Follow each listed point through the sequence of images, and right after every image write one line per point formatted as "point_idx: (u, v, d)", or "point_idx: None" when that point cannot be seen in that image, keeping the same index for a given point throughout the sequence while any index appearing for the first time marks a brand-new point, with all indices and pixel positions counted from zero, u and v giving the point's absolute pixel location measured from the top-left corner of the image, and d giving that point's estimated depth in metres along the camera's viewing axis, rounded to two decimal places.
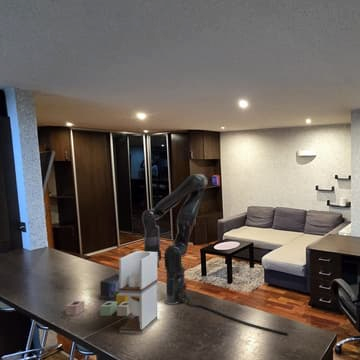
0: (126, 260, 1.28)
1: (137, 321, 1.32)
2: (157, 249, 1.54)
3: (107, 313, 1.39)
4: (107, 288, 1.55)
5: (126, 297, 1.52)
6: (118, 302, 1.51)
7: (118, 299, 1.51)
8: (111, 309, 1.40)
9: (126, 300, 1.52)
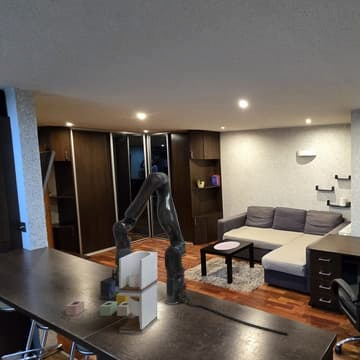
0: (126, 260, 1.28)
1: (137, 321, 1.32)
2: None
3: (107, 313, 1.39)
4: (107, 288, 1.55)
5: (126, 297, 1.52)
6: (118, 302, 1.51)
7: (118, 299, 1.51)
8: (111, 309, 1.40)
9: (126, 300, 1.52)
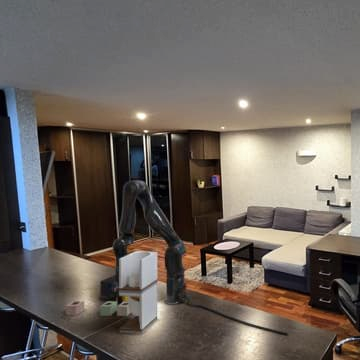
0: (126, 260, 1.28)
1: (137, 321, 1.32)
2: None
3: (107, 313, 1.39)
4: (107, 288, 1.55)
5: (126, 297, 1.52)
6: None
7: None
8: (111, 309, 1.40)
9: (126, 300, 1.52)
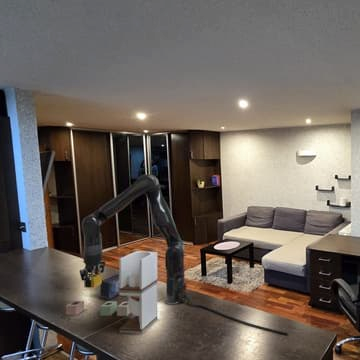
0: (126, 260, 1.28)
1: (137, 321, 1.32)
2: (98, 259, 1.40)
3: (107, 313, 1.39)
4: (107, 288, 1.55)
5: (95, 280, 1.40)
6: None
7: None
8: (111, 309, 1.40)
9: (95, 284, 1.40)
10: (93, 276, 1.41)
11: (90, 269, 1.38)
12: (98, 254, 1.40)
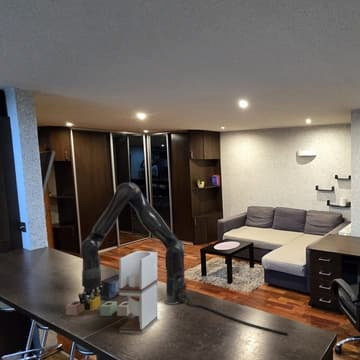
0: (126, 260, 1.28)
1: (137, 321, 1.32)
2: (97, 282, 1.40)
3: (107, 313, 1.39)
4: (107, 288, 1.55)
5: (94, 303, 1.40)
6: None
7: None
8: (111, 309, 1.40)
9: (94, 306, 1.40)
10: (92, 299, 1.40)
11: (89, 292, 1.38)
12: (97, 277, 1.39)
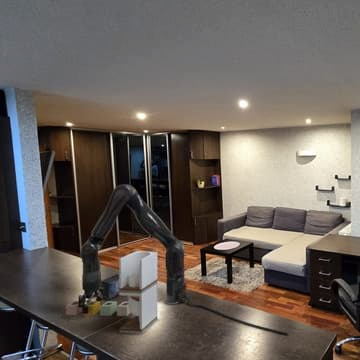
0: (126, 260, 1.28)
1: (137, 321, 1.32)
2: (97, 285, 1.40)
3: (107, 313, 1.39)
4: (107, 288, 1.55)
5: (94, 308, 1.40)
6: (85, 314, 1.39)
7: None
8: (111, 309, 1.40)
9: (94, 311, 1.40)
10: (92, 304, 1.41)
11: (89, 296, 1.38)
12: (97, 280, 1.40)
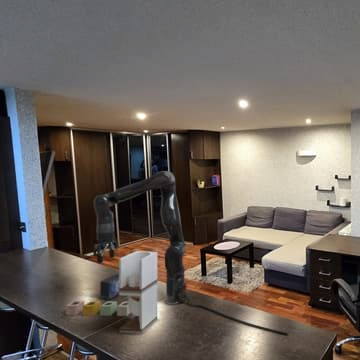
0: (126, 260, 1.28)
1: (137, 321, 1.32)
2: (111, 237, 1.46)
3: (107, 313, 1.39)
4: (107, 288, 1.55)
5: (94, 308, 1.40)
6: (85, 314, 1.39)
7: (85, 310, 1.39)
8: (111, 309, 1.40)
9: (94, 311, 1.40)
10: (92, 304, 1.41)
11: (103, 246, 1.45)
12: (110, 232, 1.46)
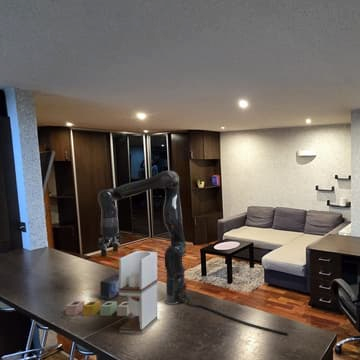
0: (126, 260, 1.28)
1: (137, 321, 1.32)
2: (114, 231, 1.48)
3: (107, 313, 1.39)
4: (107, 288, 1.55)
5: (94, 308, 1.40)
6: (85, 314, 1.39)
7: (85, 310, 1.39)
8: (111, 309, 1.40)
9: (94, 311, 1.40)
10: (92, 304, 1.41)
11: (107, 240, 1.47)
12: (114, 226, 1.48)
